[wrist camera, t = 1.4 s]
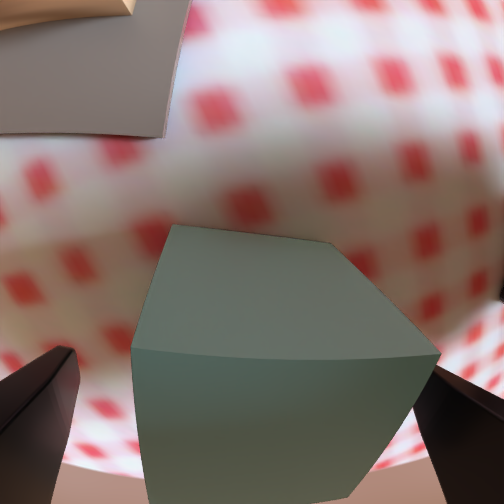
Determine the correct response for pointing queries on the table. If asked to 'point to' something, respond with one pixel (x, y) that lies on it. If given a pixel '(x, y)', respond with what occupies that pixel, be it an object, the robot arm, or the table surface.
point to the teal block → (267, 371)
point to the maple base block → (58, 10)
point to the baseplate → (93, 72)
